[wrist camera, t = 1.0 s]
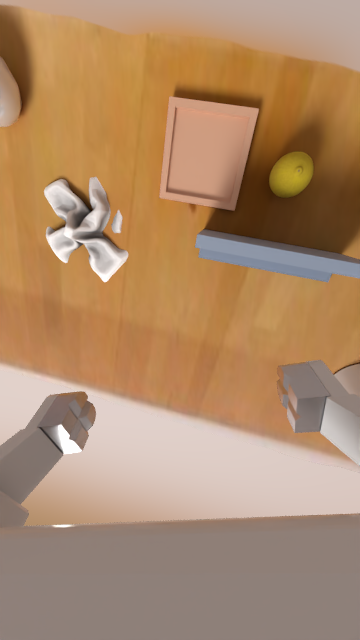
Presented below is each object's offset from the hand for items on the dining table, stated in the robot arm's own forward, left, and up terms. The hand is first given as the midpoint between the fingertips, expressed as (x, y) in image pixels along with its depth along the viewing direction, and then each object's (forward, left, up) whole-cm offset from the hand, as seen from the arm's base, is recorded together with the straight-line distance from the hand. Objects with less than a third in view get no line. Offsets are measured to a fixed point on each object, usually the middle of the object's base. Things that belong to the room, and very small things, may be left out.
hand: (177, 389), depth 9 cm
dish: (+4, -15, -37) cm, 40 cm away
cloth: (+25, -2, -37) cm, 45 cm away
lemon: (-9, -14, -37) cm, 40 cm away
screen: (-10, -2, -37) cm, 38 cm away
